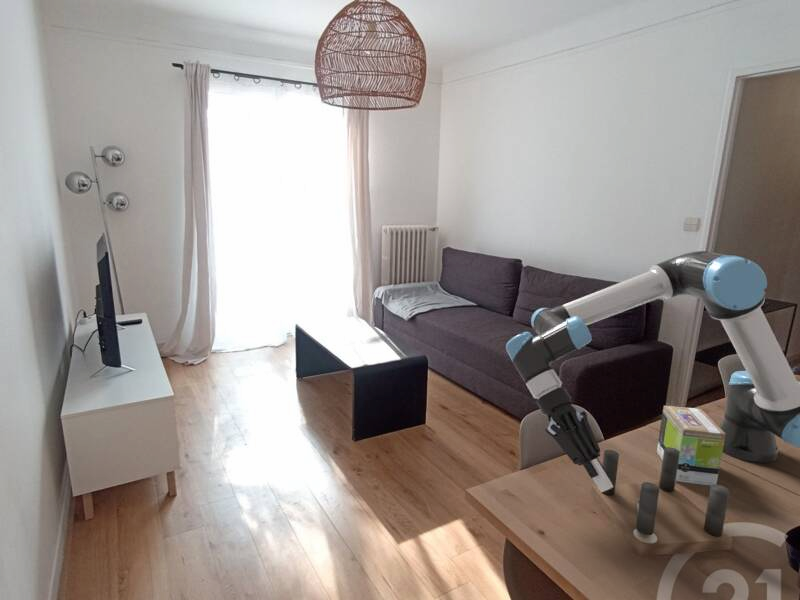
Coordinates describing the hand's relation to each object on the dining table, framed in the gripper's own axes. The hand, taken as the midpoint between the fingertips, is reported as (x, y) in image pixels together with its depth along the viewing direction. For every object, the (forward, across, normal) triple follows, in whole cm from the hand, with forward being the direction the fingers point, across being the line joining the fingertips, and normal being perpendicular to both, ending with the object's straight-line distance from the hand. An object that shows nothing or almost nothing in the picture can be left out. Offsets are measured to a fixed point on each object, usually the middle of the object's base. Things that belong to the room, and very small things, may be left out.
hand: (607, 489), depth 103 cm
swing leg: (+8, -4, +1) cm, 10 cm away
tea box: (+6, -38, -6) cm, 39 cm away
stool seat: (+10, -10, -2) cm, 15 cm away
